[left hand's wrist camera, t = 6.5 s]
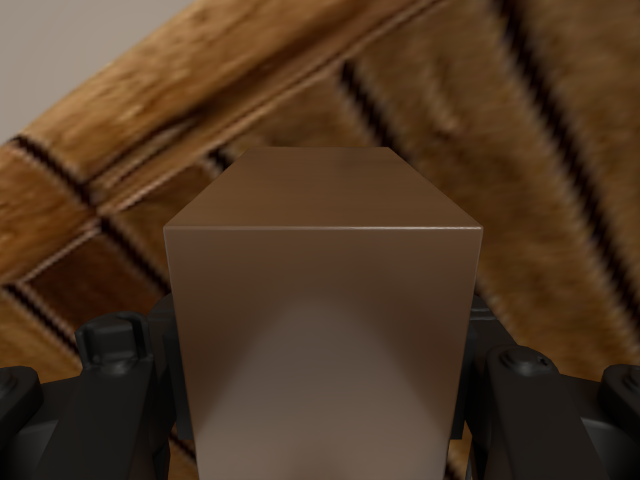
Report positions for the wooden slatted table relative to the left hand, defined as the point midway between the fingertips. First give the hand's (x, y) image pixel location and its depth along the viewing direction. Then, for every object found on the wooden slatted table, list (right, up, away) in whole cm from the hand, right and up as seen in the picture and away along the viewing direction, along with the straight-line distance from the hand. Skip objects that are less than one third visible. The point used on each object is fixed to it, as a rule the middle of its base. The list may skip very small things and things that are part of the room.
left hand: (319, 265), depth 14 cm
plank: (0, -18, +7) cm, 19 cm away
